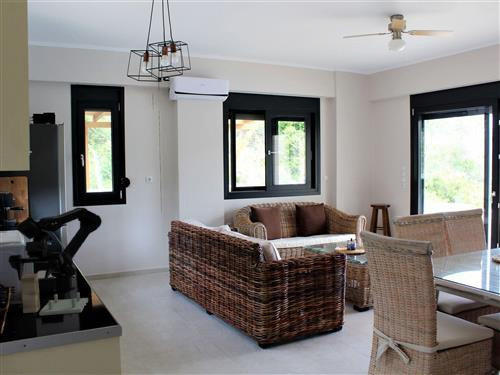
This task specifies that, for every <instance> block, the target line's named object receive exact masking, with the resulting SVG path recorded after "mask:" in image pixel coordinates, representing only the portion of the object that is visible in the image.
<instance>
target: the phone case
mask: <svg viewBox="0 0 500 375" xmlns="http://www.w3.org/2000/svg"><path fill="white" fill-rule="evenodd" d="M45 273H46V269H44V270H38V271H37V272H36V274H38V282H40V281H47V280H48V281H50V280H54V279H56V276H52V275H51V274H50V275H49V277H48V278H47V279H45Z"/></svg>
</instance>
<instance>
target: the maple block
mask: <svg viewBox="0 0 500 375" xmlns="http://www.w3.org/2000/svg"><path fill="white" fill-rule="evenodd" d="M20 282H21V284H20V285H21V296H22V297H21V298H22V312H23V314H27V313H28V314H30V313H37V312H38V311H39V310H41V304H40V302H41V301H40V300H41V299H40V288H39V287H40V286H39V285H40V284H39V281H38V274H37V273H29V274H27V273H26V274H24V275H22V277H21V281H20Z"/></svg>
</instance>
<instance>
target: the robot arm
mask: <svg viewBox="0 0 500 375" xmlns="http://www.w3.org/2000/svg"><path fill="white" fill-rule="evenodd" d="M76 220H77V221H78V222H79V229H78V230H77V231H76V233H75V234H74V236H72V238H71V240H70V241H69V243H67V245H66V247H65V248H64V249H63V251H62V252H60V251H58V252H55V251H54V252H50V253H49V256H46V255H47V253H48V243H49V242H51V241H52V240H53V239H54V238H53V237H52V236H51V235H50V233H55V232H57V231H59V230H60V229H61V228H62V227H63V226H64V225H65V224H66V225H67V224H68V223H71V222H74V221H76ZM102 221H103V220H102V218H101V216H100V215H99V214H96V213H94V212H92V211H90V210H88V209H87V208H86V207H75V208H72V209H71V210H69V211H66V212H63V213H60V214H58V215H53V216H44V217H43V216H42V217H41V218H39V220H38V221H36V220H34V219H33V217H29V216H28V217H26V219H24V220H22V221H21V222H20V223H18V225H17V228H16V229H17V232H19V233H20V234H21V235H23V236H24V237H25V238H26V239H28V240H32V241H26V242H25V250H24V251H25V252H26V256H28V257H23V256H22V254H11V255H10V256H8V259H7V260H8V263H9V265H10V266H11V269H14V270H15V271H17V278H18V281H19V282H21V277H22V276H24V275H23V274H24V269H25V268H24V266H25V264H32V263H35V264H38V263H40V264H41V263H47V265H46V266H47V267H46V269H45V270H46V273H45V279H47V278H48V277H49V275H50V274H51V275H52V276H55V289H54V290H52V291H53V292H56V293H67V292H70V291H72V290H75V289H76V287H75V286H73V277H74V276H75V275H76V273H77V270H76V268H74V267H73V263H74V262H73V259H74V257H75V256H76V254H77V253H78V251H79V250H80V249H81V247H82V245H83V244H84V242H85V241H86V239H87V238H88V237H89V235H90V234H91V233H93V232H95V231H97V230H98V229H99V228H100V227H101V225H102V223H103V222H102ZM49 232H50V233H49Z"/></svg>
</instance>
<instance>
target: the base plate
mask: <svg viewBox="0 0 500 375" xmlns="http://www.w3.org/2000/svg"><path fill="white" fill-rule="evenodd" d="M75 295H76V298H68V299H58V294H57V293H56V294H53V298H54V300H53V299H49V300H48V301H47V302H48V303H46V305H45V306H44V307H43V308H42V309H40V311H39V316H50V315H51V316H53V315H65V314H76V313H82V311H83V310H84V308H85V307H84V306H86V305H87V304H88V302H89V297H82V298H81V295H80V292H75ZM86 303H87V304H86Z"/></svg>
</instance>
